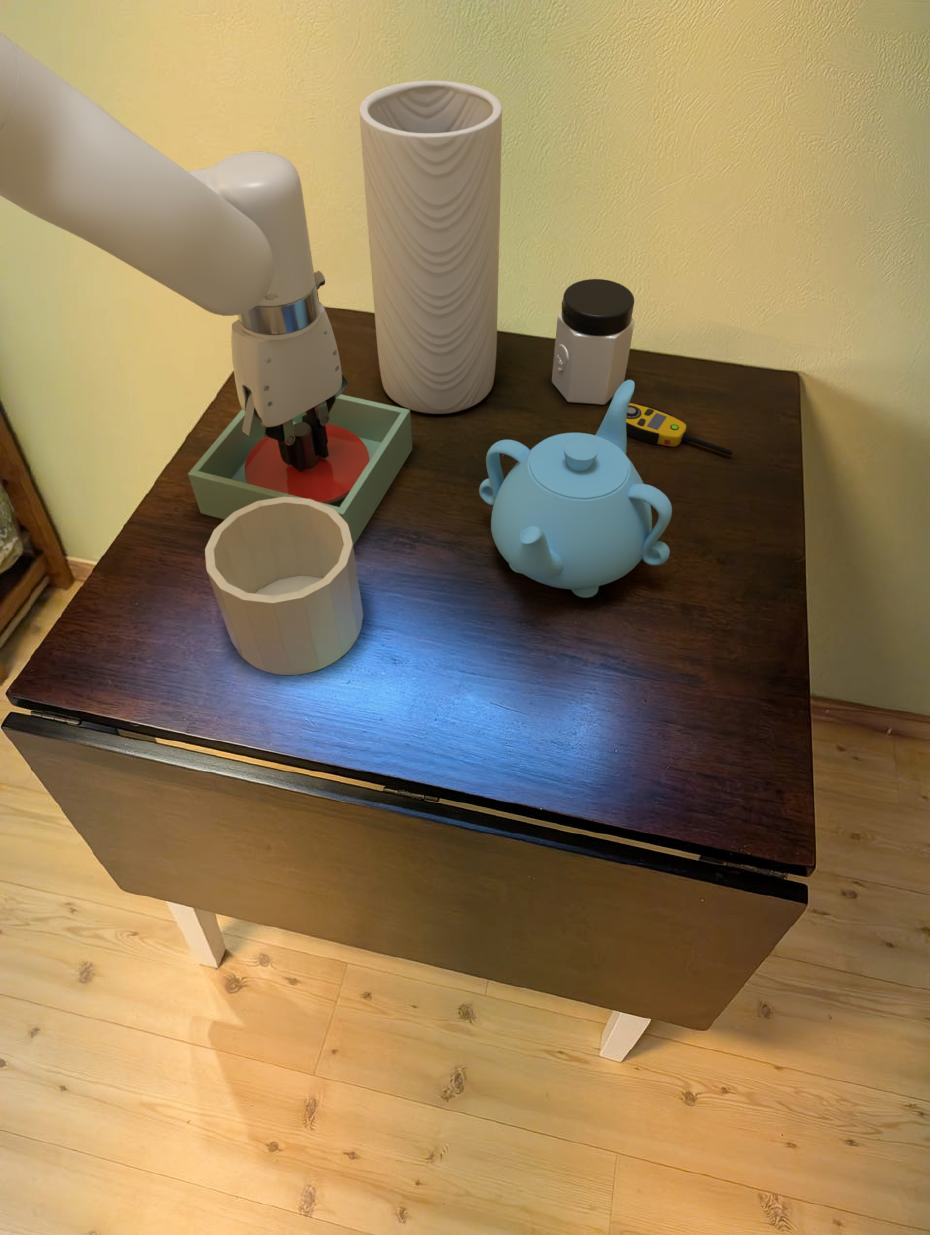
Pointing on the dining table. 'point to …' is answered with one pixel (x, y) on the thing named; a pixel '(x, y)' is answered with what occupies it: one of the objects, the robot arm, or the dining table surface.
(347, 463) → the lid
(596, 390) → the jar
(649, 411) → the remote control
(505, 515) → the teapot
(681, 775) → the dining table surface
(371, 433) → the green square tray
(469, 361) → the vase
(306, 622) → the pot
